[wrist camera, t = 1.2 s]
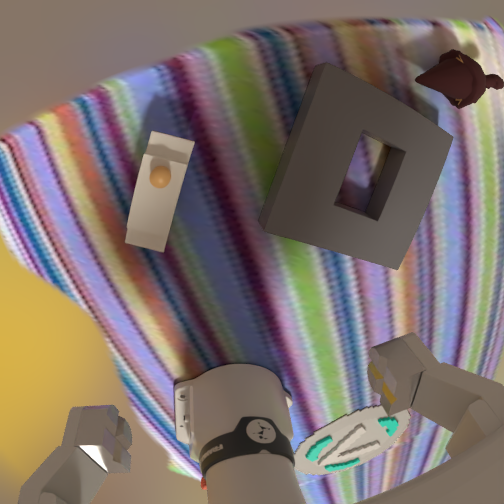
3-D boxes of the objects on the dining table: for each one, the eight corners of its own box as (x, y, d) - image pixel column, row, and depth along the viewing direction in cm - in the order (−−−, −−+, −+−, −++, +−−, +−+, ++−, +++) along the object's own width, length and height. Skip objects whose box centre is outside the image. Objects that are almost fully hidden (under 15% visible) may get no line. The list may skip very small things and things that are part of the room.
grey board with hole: (385, 259, 40) (397, 270, 37) (258, 220, 35) (263, 231, 33) (437, 133, 34) (453, 137, 31) (315, 65, 29) (326, 62, 26)
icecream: (438, 122, 27) (507, 112, 29) (439, 53, 22) (511, 60, 24) (397, 103, 32) (470, 96, 34) (394, 43, 27) (471, 48, 29)
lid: (267, 451, 57) (269, 457, 55) (391, 383, 53) (395, 388, 52) (322, 480, 68) (324, 484, 67) (416, 428, 65) (419, 432, 64)
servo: (167, 237, 35) (161, 261, 29) (132, 228, 34) (120, 251, 28) (195, 138, 31) (194, 144, 25) (157, 128, 30) (148, 132, 24)
